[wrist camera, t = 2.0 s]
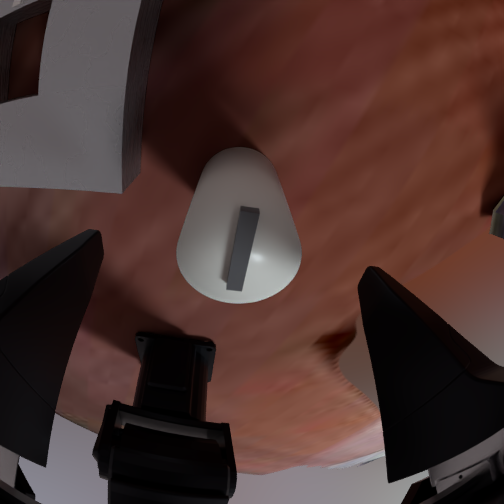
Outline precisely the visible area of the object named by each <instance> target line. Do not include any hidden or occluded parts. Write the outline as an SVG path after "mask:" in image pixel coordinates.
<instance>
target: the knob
mask: <svg viewBox="0 0 504 504" xmlns="http://www.w3.org/2000/svg"><path fill="white" fill-rule="evenodd" d="M176 254H177V262H178V266H179V269H180V271H181V273H182V275H183V276H184V278H185V279H186V280H187V282H188V283H189V284H190V285H191V286H192V287H193V288H195V289H196V290H197V291H199V292H200V293H202V294H203V295H205V296H207V297H209V298H212V299H215V300H218V301H222V302H228V303H250V302H256V301H260V300H263V299H266V298H268V297H270V296H273V295H274V294H276V293H278V292H279V291H281V290H282V289H283V288H285V287H286V286H287V285H288V284H289V283H290V282H291V280H292V279H293V278H294V276H295V275H296V273H297V271H298V269H299V266H300V262H301V256H302V251H301V244H300V240H299V237H298V234H297V231H296V228H295V225H294V222H293V219H292V216H291V213H290V210H289V207H288V204H287V201H286V198H285V195H284V192H283V189H282V187H281V184H280V181H279V178H278V175H277V173H276V170H275V168H274V166H273V164H272V163H271V162H270V160H269V159H268V158H267V157H266V156H265V155H263V154H262V153H260V152H258V151H256V150H254V149H251V148H246V147H233V148H228V149H225V150H223V151H220V152H219V153H217V154H215V155H214V156H213V157H212V158H211V159H210V160H209V161H208V162H207V164H206V165H205V167H204V169H203V171H202V174H201V177H200V179H199V182H198V185H197V187H196V190H195V193H194V196H193V199H192V201H191V204H190V207H189V210H188V213H187V216H186V219H185V222H184V225H183V228H182V231H181V234H180V237H179V241H178V244H177V251H176Z"/></svg>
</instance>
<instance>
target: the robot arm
mask: <svg viewBox="0 0 504 504" xmlns="http://www.w3.org/2000/svg"><path fill="white" fill-rule="evenodd" d="M103 256H104V250H103V243H102V236H101V233H100V231H99V230H92V229H88V230H86V231H84V232H82V233H80V234H78V235H76V236H75V237H73V238H71V239H69V240H67V241H65V242H63V243H61V244H60V245H58V246H56V247H54V248H52V249H51V250H49V251H47V252H45V253H44V254H42V255H40V256H38V257H37V258H35V259H33V260H32V261H30V262H28V263H27V264H25V265H23V266H22V267H20V268H19V269H17V270H15V271H14V272H12V273H11V274H9V276H6V277H4V278H3V279H1V280H0V504H41V503H39V502H37V501H35V494H34V492H33V490H32V489H31V487H30V485H29V483H28V481H27V480H26V478H25V476H24V474H23V472H22V470H21V468H20V466H19V464H18V462H19V457H20V456H21V457H23V458H25V459H27V460H30V461H32V462H34V463H36V464H38V465H41V466H43V467H46V464H47V457H48V449H49V442H50V436H51V431H52V425H53V420H54V415H55V409H56V405H57V401H58V397H59V392H60V388H61V385H62V381H63V377H64V374H65V370H66V367H67V363H68V360H69V357H70V354H71V350H72V347H73V344H74V341H75V338H76V336H77V333H78V330H79V327H80V324H81V322H82V319H83V316H84V314H85V311H86V308H87V306H88V303H89V301H90V298H91V295H92V292H93V289H94V285H95V282H96V279H97V276H98V273H99V269H100V266H101V263H102V260H103ZM358 295H359V301H360V308H361V314H362V321H363V327H364V332H365V336H366V340H367V345H368V349H369V354H370V359H371V363H372V368H373V373H374V379H375V384H376V390H377V395H378V401H379V408H380V414H381V421H382V428H383V431H384V432H383V437H384V446H385V456H386V467H387V479H388V483H392V482H395V481H398V480H401V479H404V478H406V477H409V476H412V475H414V474H417V473H420V472H422V471H425V470H427V469H428V473H429V476H428V477H426V478H424V479H422V480H420V481H417V482H415V483H413V484H412V485H411V487H410V488H409V490H408V492H407V494H406V496H405V498H404V499H403V501H402V503H401V504H504V367H502V366H499V365H497V364H495V363H494V362H493V361H491V360H490V359H489V358H488V357H487V356H486V355H484V354H483V353H482V352H481V351H479V350H478V349H477V348H476V347H475V346H474V345H472V344H471V343H470V342H469V341H468V340H466V339H465V338H464V337H463V336H462V335H461V334H459V333H458V332H457V331H456V330H455V329H454V328H453V327H451V326H450V325H449V324H447V322H446V321H444V320H443V319H442V318H441V317H440V316H439V315H438V314H436V313H435V312H434V311H433V310H432V309H430V308H429V307H428V306H427V305H426V304H425V303H423V302H422V301H421V300H420V299H418V298H417V297H416V296H415V295H414V294H412V293H411V292H410V291H409V290H407V289H406V288H405V287H404V286H403V285H401V284H400V283H399V282H397V281H396V280H395V279H394V278H392V277H391V276H390V275H389V274H387V273H386V272H385V271H383V270H382V269H381V268H379V267H375V266H369V267H367V268H366V270H365V272H364V274H363V276H362V278H361V280H360V282H359V284H358ZM135 341H136V345H137V349H138V353H139V357H140V361H141V368H140V372H139V377H138V382H137V387H136V392H135V397H134V402H133V406H129V405H126V404H122V403H121V402H120V401H116V400H113V403H112V405H106V409H105V413H104V418H103V422H102V425H101V428H100V431H99V434H98V437H97V440H96V442H95V446H94V448H93V454H92V455H93V457H94V458H95V460H96V461H97V462H98V468H99V476H100V478H103V479H106V480H108V504H228V501H229V499H230V498H231V497H232V496H233V494H234V492H235V489H236V482H237V471H236V464H235V458H234V452H233V446H232V439H231V433H230V426H229V423H213V422H206V401H207V382H210V381H211V377H212V370H213V364H214V358H215V352H216V345H215V344H214V343H212V342H204V341H196V340H188V339H181V338H174V337H167V336H160V335H154V334H148V333H142V332H138V333H136V336H135ZM122 425H124V429H122V428H121V426H122Z"/></svg>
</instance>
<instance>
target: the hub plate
mask: <svg viewBox="0 0 504 504" xmlns="http://www.w3.org/2000/svg"><path fill="white" fill-rule="evenodd" d="M162 1H163V0H0V187H31V188H52V189H69V190H84V191H97V192H109V193H121V194H122V193H123V192H124V191H125V190H126V189H127V187H128V186H129V185H130V184H131V183H132V182H133V181H134V179H135V178H136V177H137V176H138V175H139V174H140V167H141V143H142V127H143V115H144V104H145V95H146V87H147V79H148V72H149V65H150V59H151V53H152V47H153V42H154V37H155V32H156V27H157V22H158V18H159V14H160V9H161V5H162ZM47 11H50V13H49V17H48V22H47V26H46V32H45V37H44V43H43V49H42V57H41V65H40V75H39V90H38V93H37V94H32V95H27V96H23V97H18V98H14V99H10V100H8V82H9V70H10V60H11V53H12V46H13V40H14V34H15V29H16V24H17V23H19V22H22V21H24V20H26V19H29V18H31V17H34V16H36V15H39V14H42V13H45V12H47Z"/></svg>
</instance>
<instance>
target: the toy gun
mask: <svg viewBox="0 0 504 504" xmlns="http://www.w3.org/2000/svg"><path fill="white" fill-rule="evenodd" d="M489 234H493V235H495V236H498V237H501V238H503V239H504V196H503V198H502V199H501V200H500V202H499V203H498V205H497V206H496V207H495V208H494V210H493V215H492V221H491V227H490V233H489Z"/></svg>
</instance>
